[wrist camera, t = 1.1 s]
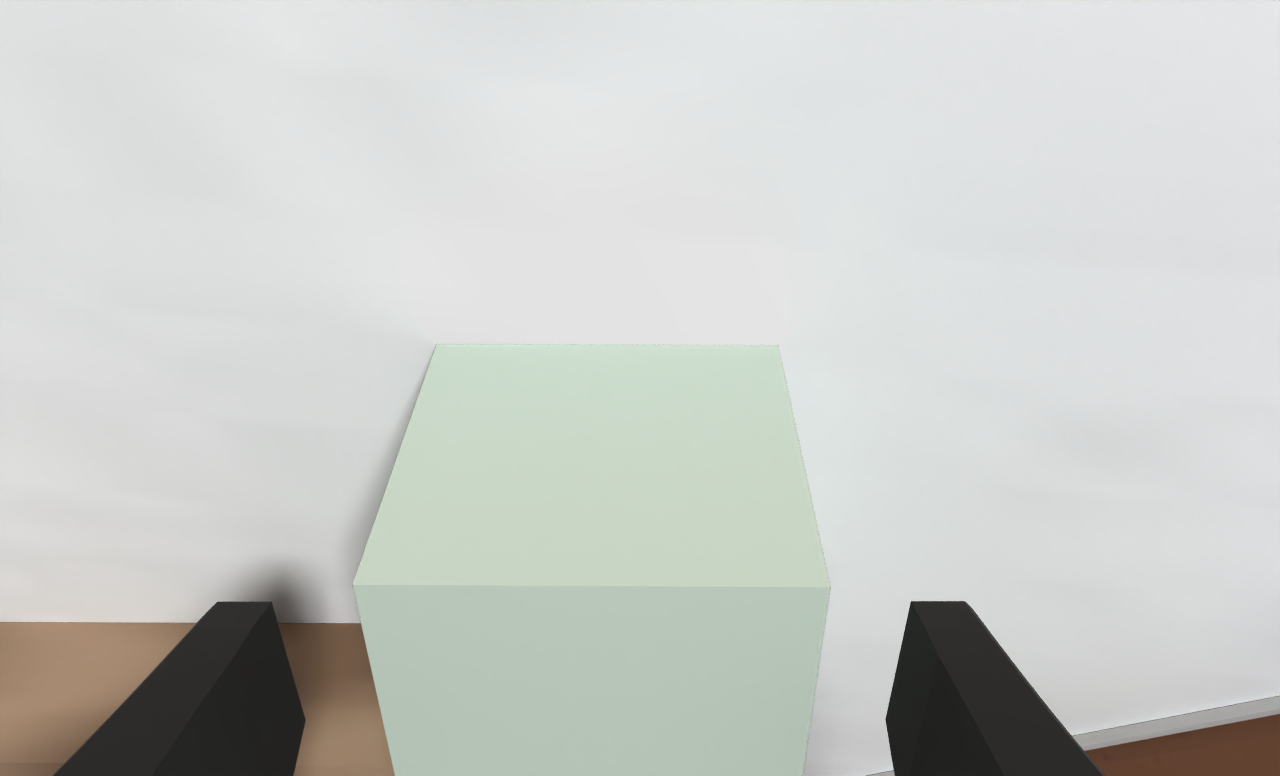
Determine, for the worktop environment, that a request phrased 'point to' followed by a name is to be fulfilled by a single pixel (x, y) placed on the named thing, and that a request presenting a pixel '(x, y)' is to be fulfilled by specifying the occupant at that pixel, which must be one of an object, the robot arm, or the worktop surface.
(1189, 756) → the food container
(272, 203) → the worktop surface
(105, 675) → the walnut block
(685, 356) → the sage cube
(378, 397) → the worktop surface
